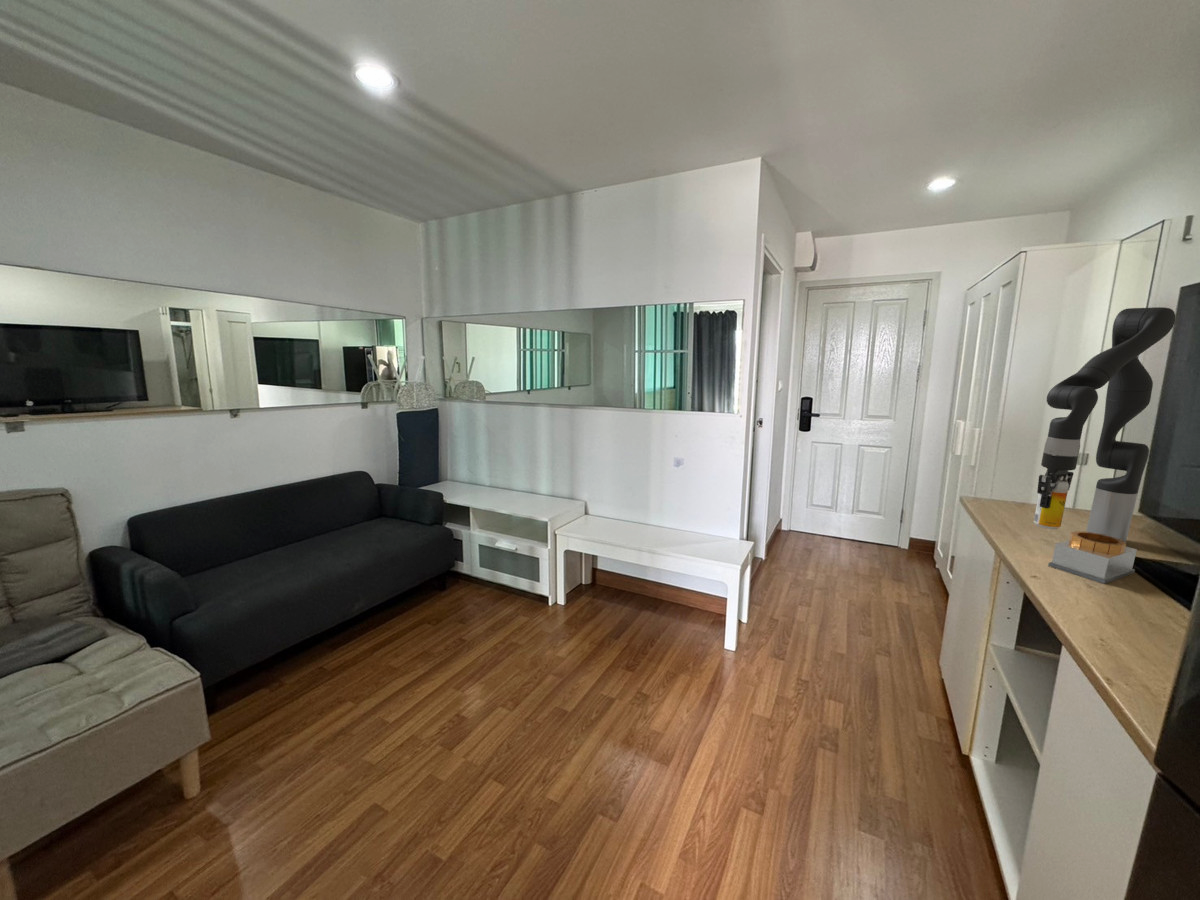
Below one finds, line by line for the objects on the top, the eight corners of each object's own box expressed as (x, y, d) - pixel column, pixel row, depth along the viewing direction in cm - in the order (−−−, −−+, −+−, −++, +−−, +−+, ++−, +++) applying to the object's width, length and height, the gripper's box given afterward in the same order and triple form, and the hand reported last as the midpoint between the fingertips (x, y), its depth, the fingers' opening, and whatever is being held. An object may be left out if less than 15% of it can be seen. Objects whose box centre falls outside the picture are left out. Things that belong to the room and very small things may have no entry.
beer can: (1065, 530, 139) (1075, 482, 136) (1042, 529, 141) (1051, 481, 138) (1050, 523, 145) (1059, 477, 142) (1028, 522, 146) (1036, 476, 143)
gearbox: (1084, 554, 142) (1090, 525, 140) (1139, 570, 131) (1147, 539, 129) (1048, 566, 134) (1054, 535, 132) (1104, 583, 123) (1112, 550, 121)
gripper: (1057, 448, 144) (1047, 499, 148) (1031, 452, 139) (1022, 505, 142) (1090, 452, 138) (1078, 506, 141) (1064, 457, 132) (1053, 513, 135)
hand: (1050, 505), depth 142 cm, fingers closed on beer can, 6 cm apart
